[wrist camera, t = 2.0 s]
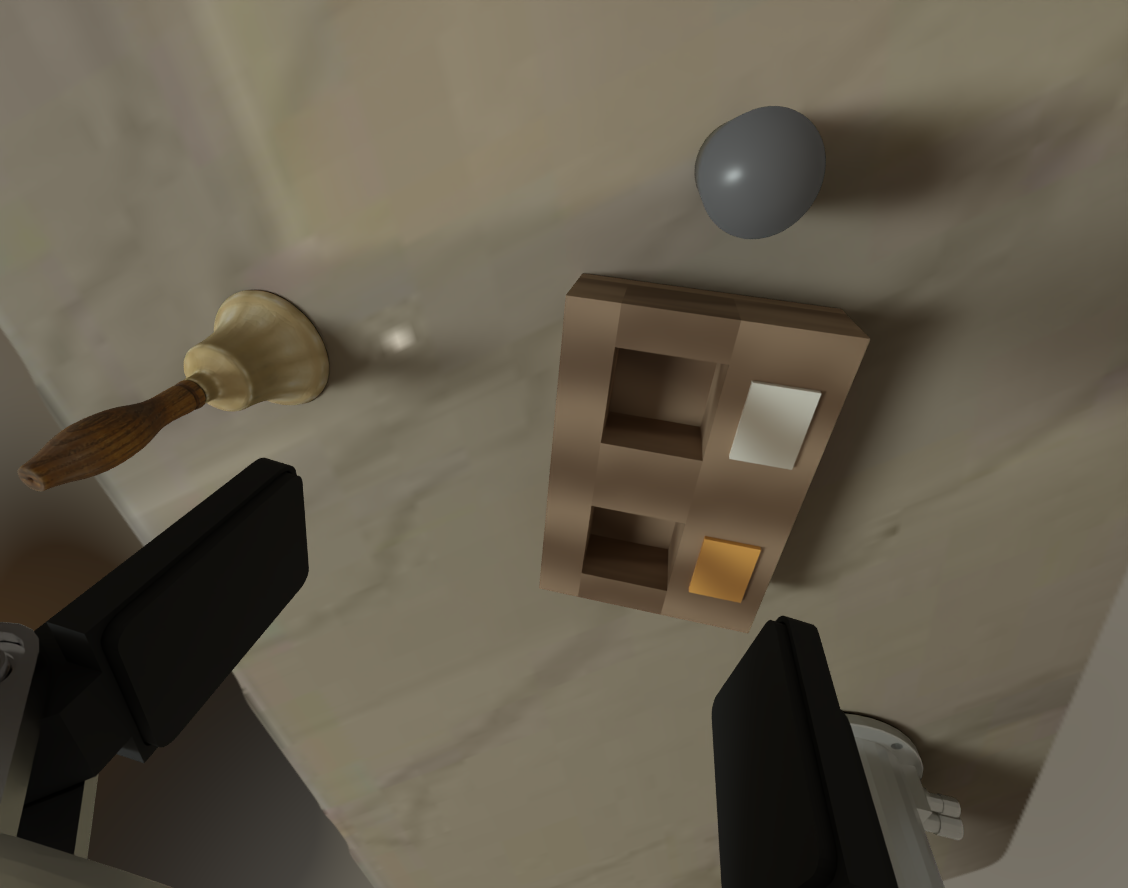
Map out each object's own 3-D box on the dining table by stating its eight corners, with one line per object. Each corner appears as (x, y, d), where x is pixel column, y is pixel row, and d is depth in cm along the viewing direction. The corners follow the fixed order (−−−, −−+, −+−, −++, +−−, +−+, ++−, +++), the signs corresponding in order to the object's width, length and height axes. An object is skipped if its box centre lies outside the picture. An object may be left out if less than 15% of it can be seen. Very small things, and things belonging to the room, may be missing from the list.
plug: (792, 122, 24) (844, 112, 16) (766, 216, 26) (802, 246, 18) (704, 114, 24) (715, 100, 17) (686, 206, 26) (689, 231, 19)
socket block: (582, 273, 29) (564, 296, 24) (841, 308, 27) (872, 341, 23) (554, 540, 39) (538, 591, 35) (740, 578, 38) (748, 637, 33)
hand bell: (352, 379, 36) (152, 522, 22) (274, 419, 39) (57, 565, 25) (274, 267, 33) (-15, 354, 19) (195, 320, 36) (-100, 426, 22)
